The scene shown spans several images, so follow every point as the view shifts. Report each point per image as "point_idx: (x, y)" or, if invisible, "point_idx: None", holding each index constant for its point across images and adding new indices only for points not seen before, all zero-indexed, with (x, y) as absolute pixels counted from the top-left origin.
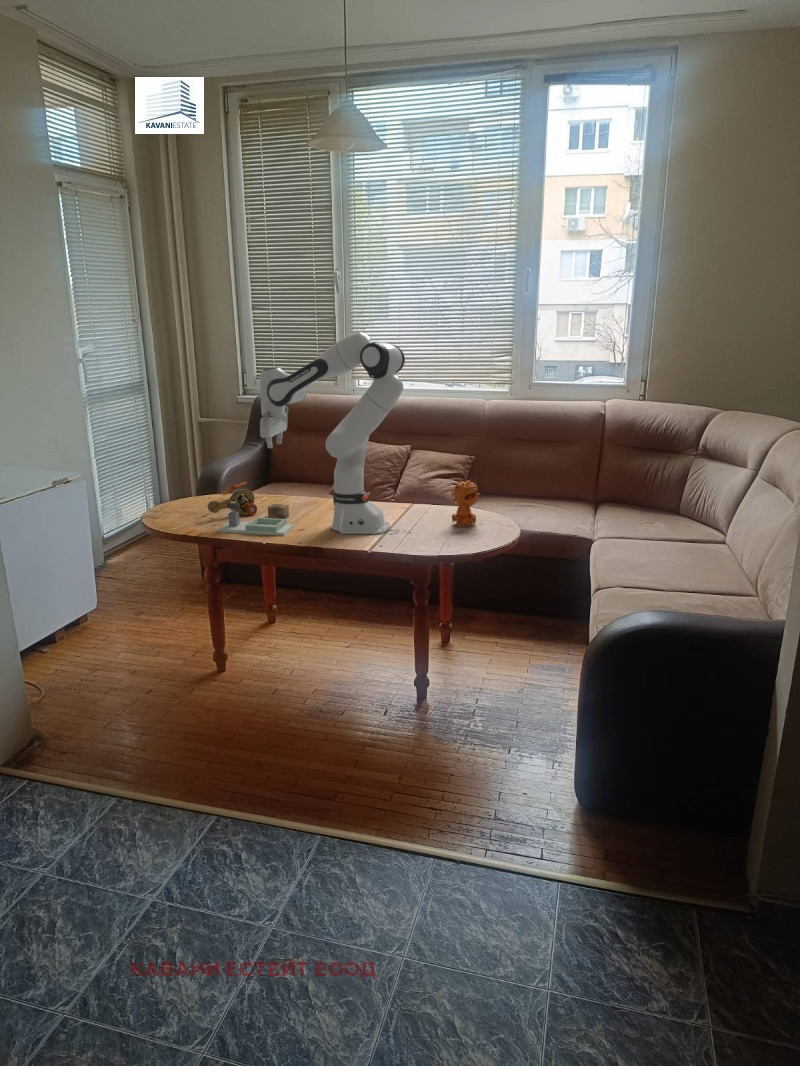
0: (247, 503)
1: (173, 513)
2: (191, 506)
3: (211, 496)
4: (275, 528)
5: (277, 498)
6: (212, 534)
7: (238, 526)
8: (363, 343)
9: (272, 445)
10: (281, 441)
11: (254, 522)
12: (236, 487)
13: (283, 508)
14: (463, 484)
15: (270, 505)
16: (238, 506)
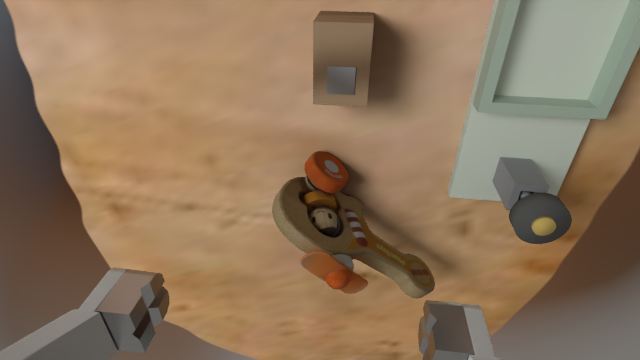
0: (325, 195)
1: (345, 338)
2: (271, 322)
3: None
4: None
5: (90, 141)
6: (577, 207)
7: (528, 153)
8: None
9: (455, 324)
10: (106, 285)
11: (535, 102)
12: (342, 270)
13: (373, 27)
14: None
15: (340, 102)
16: (545, 195)
